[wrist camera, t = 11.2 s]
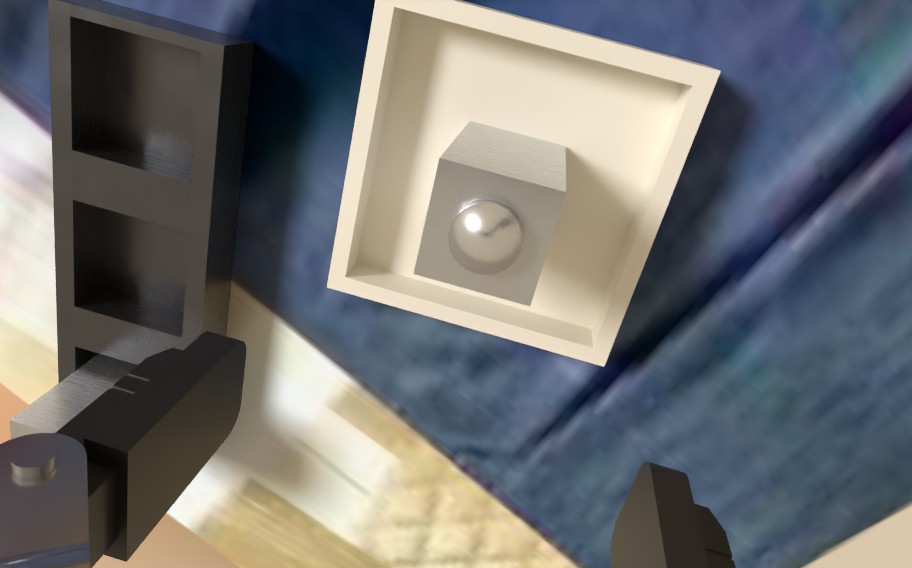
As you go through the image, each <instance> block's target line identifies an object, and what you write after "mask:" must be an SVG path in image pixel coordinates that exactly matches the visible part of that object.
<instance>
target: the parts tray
mask: <svg viewBox="0 0 912 568" xmlns="http://www.w3.org/2000/svg"><path fill="white" fill-rule="evenodd" d="M720 72H721V71H720V70H717V69H715V68H712V67H710V66H708V65H704V64H700V63H696V62H692V61H689V60H685V59H681V58H677V57H674V56H670V55H666V54H662V53H658V52H655V51H651V50H647V49H643V48H639V47H636V46H632V45H628V44H624V43H621V42H617V41H613V40H609V39H605V38H602V37H598V36H594V35H590V34H586V33H583V32H579V31H575V30H571V29H568V28H564V27H560V26H556V25H552V24H549V23H545V22H541V21H537V20H533V19H530V18H526V17H522V16H518V15H515V14H511V13H507V12H503V11H499V10H496V9H492V8H488V7H484V6H480V5H477V4H473V3H469V2H465V1H462V0H375V6H374V12H373V18H372V24H371V30H370V36H369V42H368V48H367V54H366V59H365V65H364V71H363V77H362V83H361V89H360V95H359V101H358V107H357V113H356V118H355V124H354V130H353V136H352V142H351V148H350V154H349V160H348V166H347V172H346V178H345V183H344V189H343V195H342V201H341V207H340V213H339V219H338V225H337V231H336V237H335V242H334V248H333V254H332V260H331V266H330V272H329V278H328V284H327V287H328V288H331V289H334V290H338V291H341V292H345V293H348V294H352V295H355V296H359V297H362V298H366V299H369V300H373V301H376V302H380V303H383V304H387V305H390V306H394V307H397V308H401V309H404V310H408V311H411V312H415V313H418V314H422V315H425V316H429V317H432V318H436V319H439V320H443V321H446V322H450V323H453V324H457V325H460V326H464V327H467V328H471V329H474V330H478V331H481V332H485V333H488V334H492V335H495V336H499V337H502V338H506V339H509V340H513V341H516V342H520V343H523V344H527V345H530V346H534V347H537V348H541V349H544V350H547V351H551V352H554V353H558V354H561V355H565V356H568V357H572V358H575V359H579V360H582V361H586V362H589V363H593V364H596V365H600V366H603V367H604V366H605V363H606V361H607V358H608V356H609V353H610V351H611V348H612V346H613V343H614V341H615V338H616V336H617V333H618V331H619V328H620V325H621V323H622V320H623V318H624V315H625V313H626V310H627V308H628V305H629V303H630V300H631V298H632V295H633V292H634V290H635V287H636V285H637V282H638V280H639V277H640V275H641V272H642V270H643V267H644V265H645V262H646V259H647V257H648V254H649V252H650V249H651V247H652V244H653V242H654V239H655V237H656V234H657V232H658V229H659V226H660V224H661V221H662V219H663V216H664V214H665V211H666V209H667V206H668V204H669V201H670V199H671V196H672V194H673V191H674V188H675V186H676V183H677V181H678V178H679V176H680V173H681V171H682V168H683V166H684V163H685V161H686V158H687V155H688V153H689V150H690V148H691V145H692V143H693V140H694V138H695V135H696V133H697V130H698V128H699V125H700V122H701V120H702V117H703V115H704V112H705V110H706V107H707V105H708V102H709V100H710V97H711V95H712V92H713V89H714V87H715V84H716V82H717V79H718V77H719V74H720ZM469 121H473V122H477V123H481V124H485V125H488V126H492V127H496V128H500V129H503V130H507V131H511V132H515V133H518V134H522V135H526V136H530V137H533V138H537V139H541V140H545V141H548V142H552V143H556V144H560V145H563V146H566V195H565V198H564V201H563V204H562V207H561V210H560V214H559V217H558V220H557V223H556V226H555V229H554V233H553V236H552V239H551V242H550V245H549V248H548V252H547V255H546V258H545V261H544V264H543V268H542V271H541V274H540V277H539V280H538V283H537V287H536V290H535V293H534V296H533V299H532V302H531V306H526V305H523V304H519V303H516V302H512V301H508V300H505V299H501V298H498V297H494V296H491V295H487V294H483V293H480V292H476V291H473V290H469V289H465V288H462V287H458V286H455V285H451V284H448V283H444V282H440V281H437V280H433V279H430V278H426V277H422V276H419V275H415V274H414V269H415V265H416V260H417V256H418V251H419V247H420V242H421V238H422V234H423V229H424V225H425V220H426V216H427V211H428V207H429V202H430V198H431V193H432V189H433V184H434V180H435V176H436V171H437V167H438V162H439V158H440V157H441V155H442V154H443V153H444V152H445V151H446V149H447V148H448V147H449V146H450V144H451V143H452V142H453V141H454V139H455V138H456V137H457V136H458V135H459V133H460V132H461V131H462V130H463V128H464V127H465V126H466V125H467V124H468V122H469Z"/></svg>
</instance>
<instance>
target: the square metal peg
mask: <svg viewBox="0 0 912 568" xmlns="http://www.w3.org/2000/svg"><path fill="white" fill-rule="evenodd" d="M136 366H137V365H136V364H133V363H130V362H126V361H123V360H119V359H116V358H113V357H109V356H106V355H102V354H98V355H96V356H95V357H94V358H92V359H91V360H90V361H88V362H87V363H86V364H84V365H83V366H82V367H80V368H79V369H78V370H76V371H75V372H74V373H72V374H71V375H70V376H68V377H67V378H66V379H64V380H63V381H62V382H60V383H59V384H58V385H56V386H55V387H54V388H52V389H51V390H49V391H48V392H47V393H45V394H44V395H43V396H41V397H40V398H39V399H37V400H36V401H35V402H33V403H32V404H31V405H29V406H28V407H27V408H25V409H24V410H23V411H21V412H20V413H19V414H18V415H16V416H15V417H14V418H12V419H11V420H10V430H11V439H14V438H17V437H20V436H24V435H29V434H35V433H56V432H57V431H58V430H59V429H60V428H62V427H63V426H64V425H65V424H66V423H68V422H69V421H70V420H71V419H73V418H74V417H75V416H76V415H77V414H79V413H80V412H81V411H82V410H83V409H85V408H86V407H87V406H88V405H90V404H91V403H92V402H93V401H94V400H96V399H97V398H98V397H99V396H101V395H102V394H103V393H104V392H105V391H107V390H108V389H109V388H110V389H112V387H113V385H114V384H115V383H116V382H118V381H119V380H120V379H121V378H122V377H124V376H127V375H128V373H129V372H130V371H131V370H132V369H133V368H135V367H136Z"/></svg>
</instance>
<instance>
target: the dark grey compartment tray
mask: <svg viewBox="0 0 912 568" xmlns="http://www.w3.org/2000/svg"><path fill="white" fill-rule="evenodd" d="M48 14H49V50H50V86H51V122H52V157H53V193H54V229H55V265H56V301H57V337H58V373H59V383H60V382H62V381H63V380H64V379H66V378H67V377H68V376H70V375H71V374H72V373H74V372H75V371H76V370H78V369H79V368H80V367H82V366H83V365H84V364H86V363H87V362H88V361H90V360H91V359H92V358H94V357H95V356H96V355H98V354H102V355H106V356H109V357H113V358H116V359H119V360H123V361H126V362H130V363H133V364H136V365H138V364H139V363H141V362H142V361H143V360H144V359H146V358H147V357H149V356H152V355H155V354H157V353H160V352H162V351H165V350H167V349H170V348H172V347H173V348H176V349H179V350H184V349H185V348H187V347H188V346H189V345H190V344H191V343H192V342H193V341H194V340H196V339H197V338H198V337H199V336H200V335H201V334H203V333H204V332H206V331H209V332H213V333H216V334H219V335H223V336H226V327H227V317H228V306H229V296H230V286H231V276H232V266H233V256H234V246H235V236H236V226H237V216H238V206H239V195H240V185H241V175H242V165H243V155H244V145H245V135H246V125H247V115H248V105H249V94H250V84H251V74H252V64H253V54H254V44H255V42H252V41H249V40H245V39H241V38H238V37H234V36H230V35H227V34H223V33H219V32H215V31H212V30H208V29H204V28H201V27H197V26H193V25H190V24H186V23H182V22H179V21H175V20H171V19H167V18H164V17H160V16H156V15H153V14H149V13H145V12H142V11H138V10H134V9H131V8H127V7H123V6H119V5H116V4H112V3H108V2H105V1H101V0H48Z"/></svg>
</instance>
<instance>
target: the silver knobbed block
mask: <svg viewBox="0 0 912 568" xmlns="http://www.w3.org/2000/svg"><path fill="white" fill-rule="evenodd" d="M565 195H566V146H563V145H560V144H556V143H552V142H548V141H545V140H541V139H537V138H533V137H530V136H526V135H522V134H518V133H515V132H511V131H507V130H503V129H500V128H496V127H492V126H488V125H485V124H481V123H477V122H473V121H469V122H468V124H467V125H466V126H465V127H464V128H463V130H462V131H461V132H460V133H459V135H458V136H457V137H456V138H455V139H454V141H453V142H452V143H451V144H450V146H449V147H448V148H447V149H446V151H445V152H444V153H443V154H442V155H441V157H440V158H439V162H438V167H437V171H436V176H435V180H434V184H433V189H432V193H431V198H430V202H429V207H428V211H427V216H426V220H425V225H424V229H423V234H422V238H421V242H420V247H419V251H418V256H417V260H416V265H415V269H414V274H415V275H419V276H422V277H426V278H430V279H433V280H437V281H440V282H444V283H448V284H451V285H455V286H458V287H462V288H465V289H469V290H473V291H476V292H480V293H483V294H487V295H491V296H494V297H498V298H501V299H505V300H508V301H512V302H516V303H519V304H523V305H526V306H531V302H532V299H533V296H534V293H535V290H536V287H537V283H538V280H539V277H540V274H541V271H542V268H543V264H544V261H545V258H546V255H547V252H548V248H549V245H550V242H551V239H552V236H553V233H554V229H555V226H556V223H557V220H558V217H559V214H560V210H561V207H562V204H563V201H564V198H565Z"/></svg>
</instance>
